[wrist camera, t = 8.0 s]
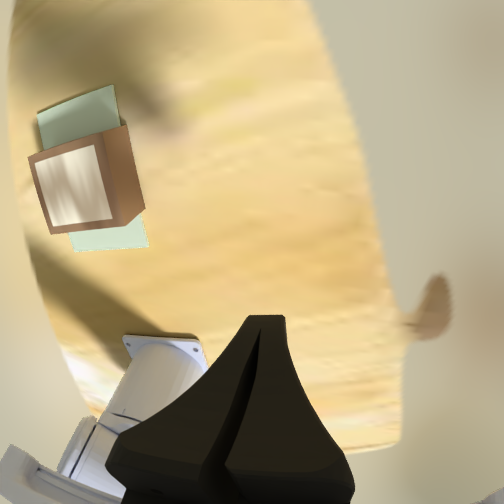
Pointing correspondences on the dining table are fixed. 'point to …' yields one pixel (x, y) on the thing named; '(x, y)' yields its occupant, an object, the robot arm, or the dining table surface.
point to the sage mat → (80, 125)
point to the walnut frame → (88, 182)
